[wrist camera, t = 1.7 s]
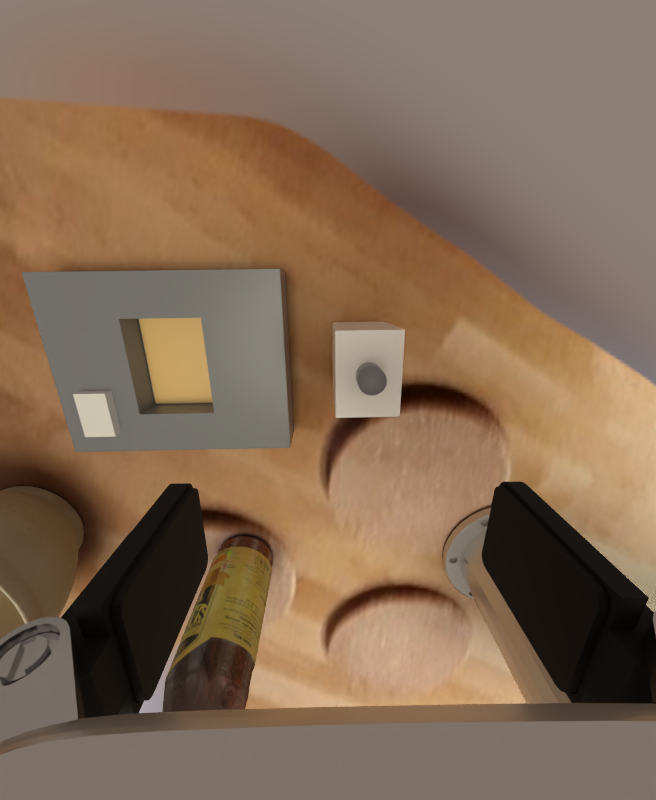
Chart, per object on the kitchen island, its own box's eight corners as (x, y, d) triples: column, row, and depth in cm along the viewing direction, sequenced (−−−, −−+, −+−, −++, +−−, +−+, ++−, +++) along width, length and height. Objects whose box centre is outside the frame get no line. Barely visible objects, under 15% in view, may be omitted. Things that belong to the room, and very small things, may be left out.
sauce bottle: (221, 527, 33) (89, 832, 14) (279, 538, 34) (225, 845, 15) (213, 573, 35) (87, 895, 16) (268, 583, 36) (207, 904, 17)
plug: (384, 321, 27) (411, 332, 19) (381, 388, 29) (405, 425, 20) (332, 322, 27) (336, 333, 19) (332, 389, 29) (336, 426, 20)
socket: (285, 272, 25) (278, 267, 21) (293, 430, 30) (289, 452, 26) (61, 275, 25) (10, 271, 21) (103, 434, 30) (68, 456, 25)
